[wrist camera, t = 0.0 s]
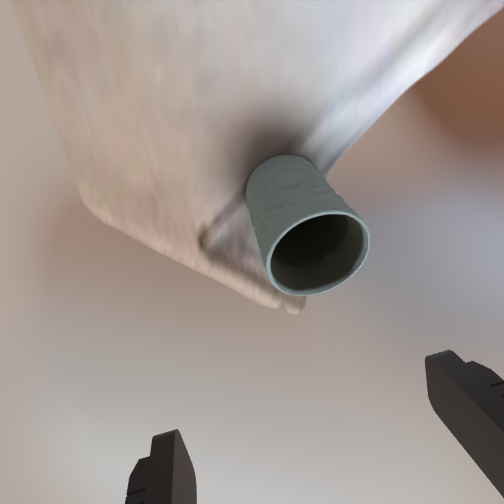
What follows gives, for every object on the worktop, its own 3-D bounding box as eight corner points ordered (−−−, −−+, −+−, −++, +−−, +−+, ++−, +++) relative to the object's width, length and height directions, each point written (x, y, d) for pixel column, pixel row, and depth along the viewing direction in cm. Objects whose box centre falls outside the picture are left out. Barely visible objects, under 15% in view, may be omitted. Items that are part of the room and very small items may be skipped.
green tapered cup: (270, 132, 40) (308, 195, 31) (343, 168, 45) (394, 232, 36) (223, 209, 45) (244, 283, 36) (294, 235, 50) (328, 306, 41)
